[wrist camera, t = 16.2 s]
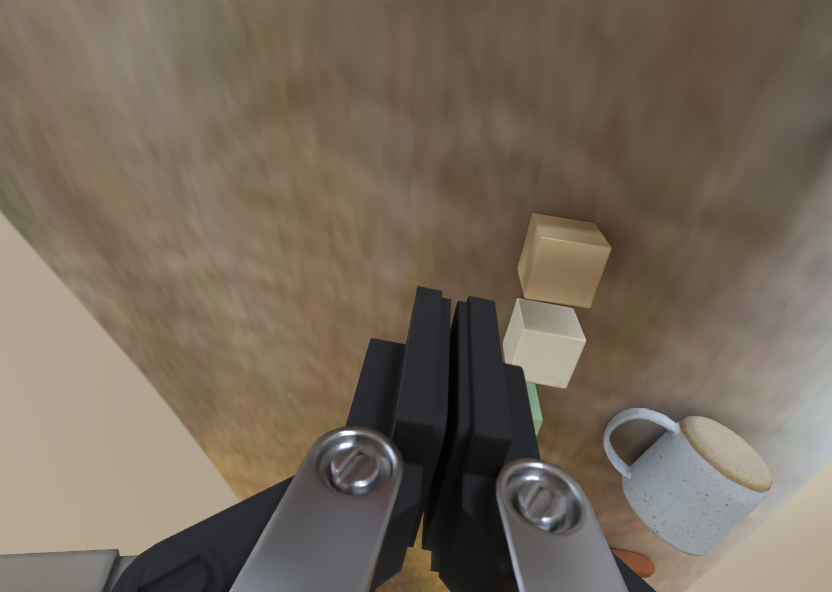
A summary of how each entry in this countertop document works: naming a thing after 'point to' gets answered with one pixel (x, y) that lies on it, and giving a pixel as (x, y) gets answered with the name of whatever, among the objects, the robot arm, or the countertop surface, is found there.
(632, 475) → the ceramic mug
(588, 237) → the birch block
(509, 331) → the cream block
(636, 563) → the kitchen knife
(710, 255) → the countertop surface
